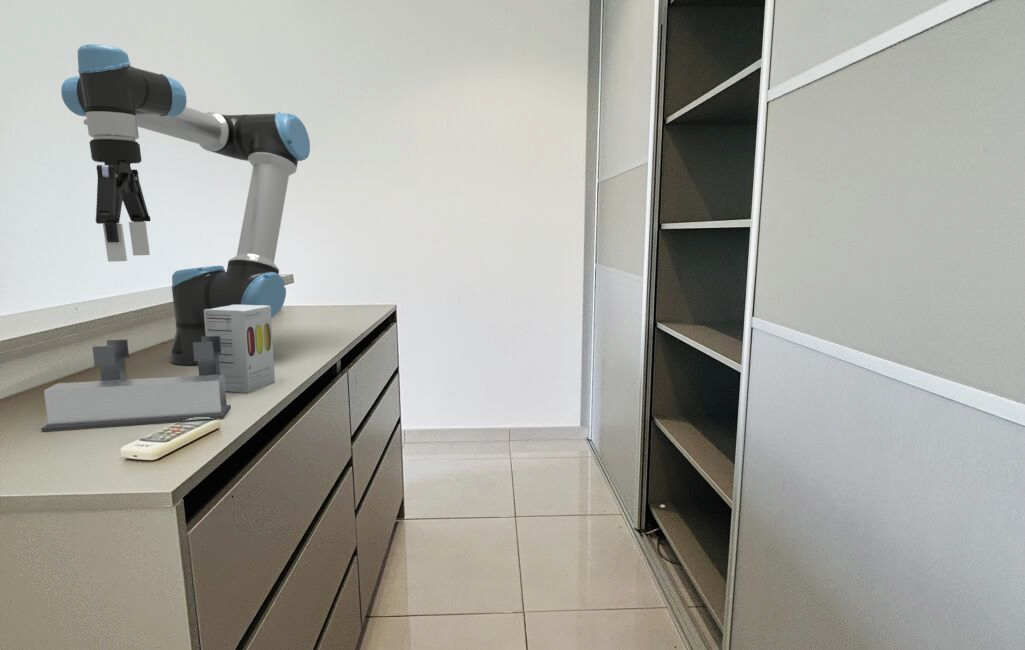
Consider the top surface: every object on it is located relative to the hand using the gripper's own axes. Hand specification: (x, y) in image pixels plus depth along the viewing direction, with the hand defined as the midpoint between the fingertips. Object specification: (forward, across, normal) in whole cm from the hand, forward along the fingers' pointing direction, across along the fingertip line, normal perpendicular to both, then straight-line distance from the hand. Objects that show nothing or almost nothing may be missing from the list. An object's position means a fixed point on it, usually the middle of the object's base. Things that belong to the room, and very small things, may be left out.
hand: (130, 258), depth 109 cm
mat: (+27, +15, +3) cm, 31 cm away
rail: (+26, +15, +3) cm, 30 cm away
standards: (+27, +6, +4) cm, 28 cm away
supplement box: (+28, -3, +17) cm, 33 cm away
